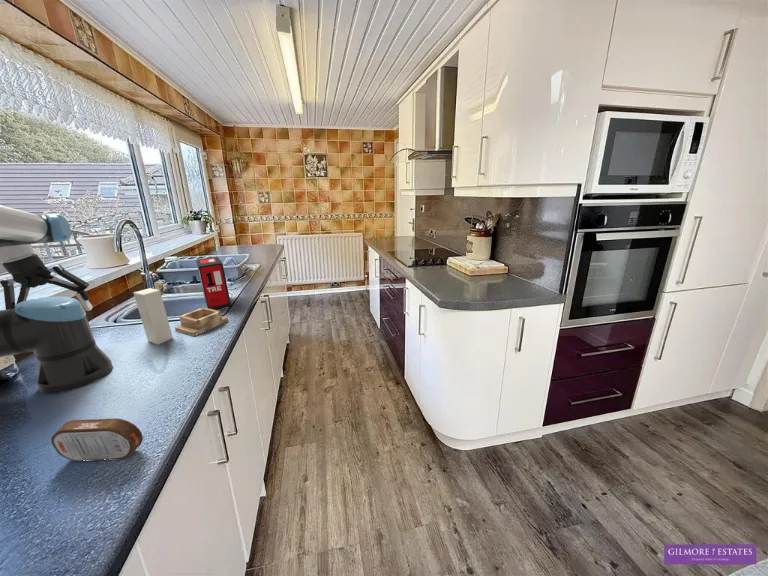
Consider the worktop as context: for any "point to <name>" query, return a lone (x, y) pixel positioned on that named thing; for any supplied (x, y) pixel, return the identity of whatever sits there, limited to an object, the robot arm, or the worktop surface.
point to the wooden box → (200, 321)
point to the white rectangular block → (153, 315)
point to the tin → (97, 439)
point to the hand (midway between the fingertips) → (65, 317)
